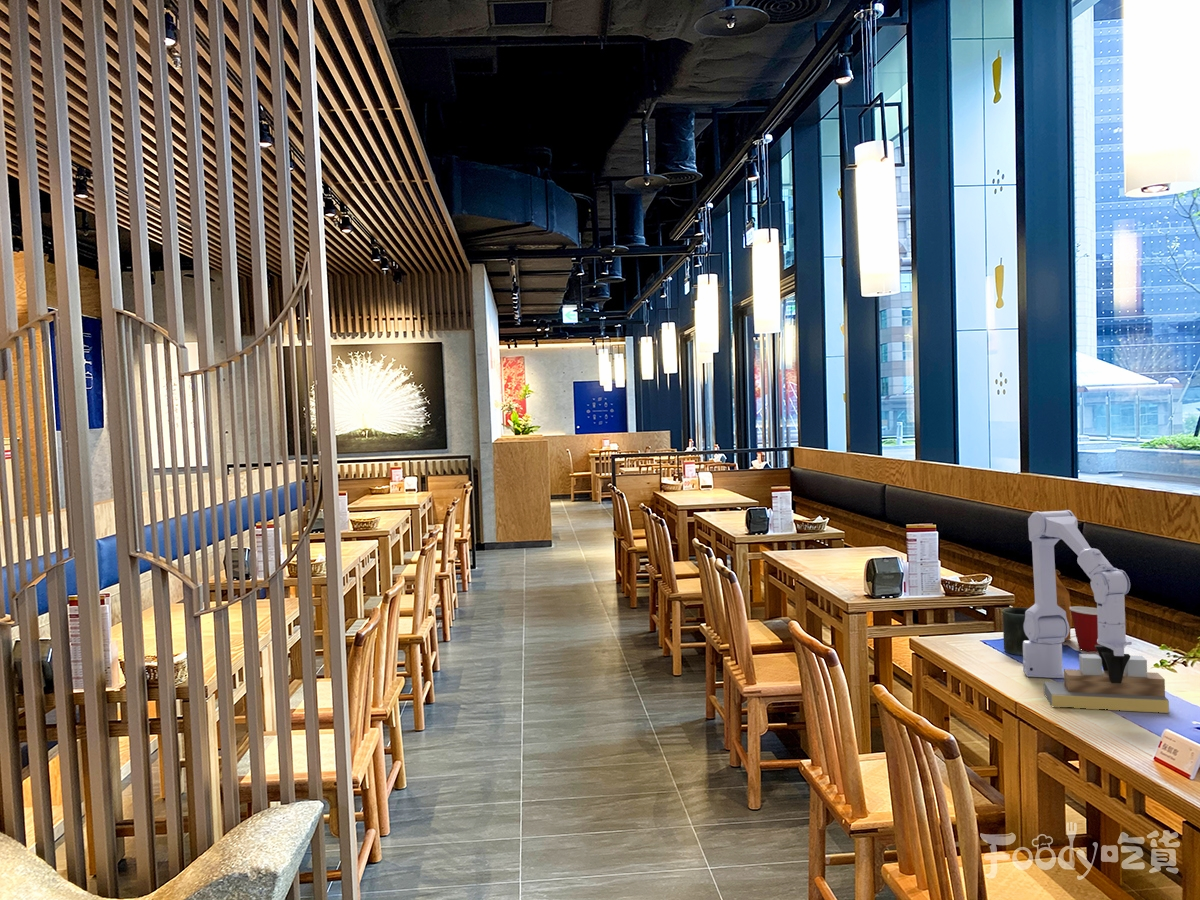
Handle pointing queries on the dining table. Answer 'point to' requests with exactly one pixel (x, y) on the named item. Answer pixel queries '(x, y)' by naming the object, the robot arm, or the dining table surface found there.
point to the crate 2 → (1136, 667)
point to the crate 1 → (1090, 664)
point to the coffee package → (1063, 600)
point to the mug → (1014, 629)
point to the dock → (1103, 700)
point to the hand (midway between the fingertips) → (1112, 679)
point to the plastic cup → (1085, 627)
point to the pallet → (1114, 684)
